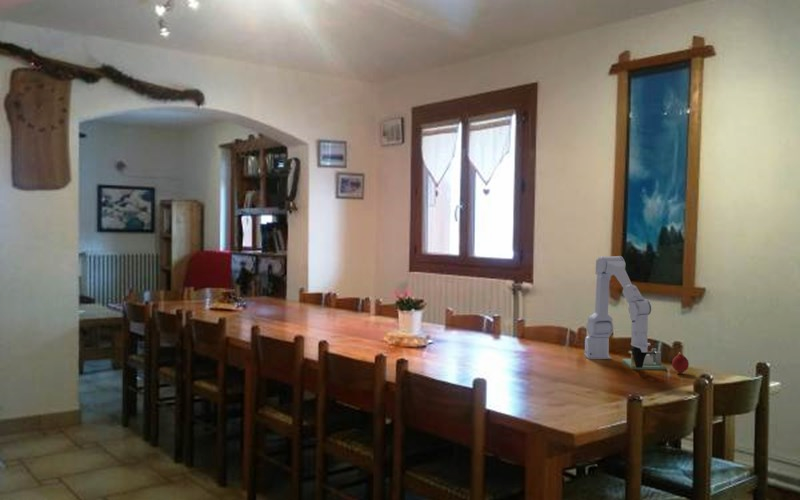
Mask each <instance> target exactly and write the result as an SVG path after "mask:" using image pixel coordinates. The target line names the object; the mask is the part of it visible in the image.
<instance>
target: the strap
mask: <svg viewBox="0 0 800 500" xmlns="http://www.w3.org/2000/svg"><path fill="white" fill-rule="evenodd" d="M629 351H630V350H628V351H627V352H628V354H630V353H629ZM656 352H657V350H656V351H652V350H650V351H649V350H648V353H647V354H649V355H651V354H656ZM630 355H631V354H630Z"/></svg>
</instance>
